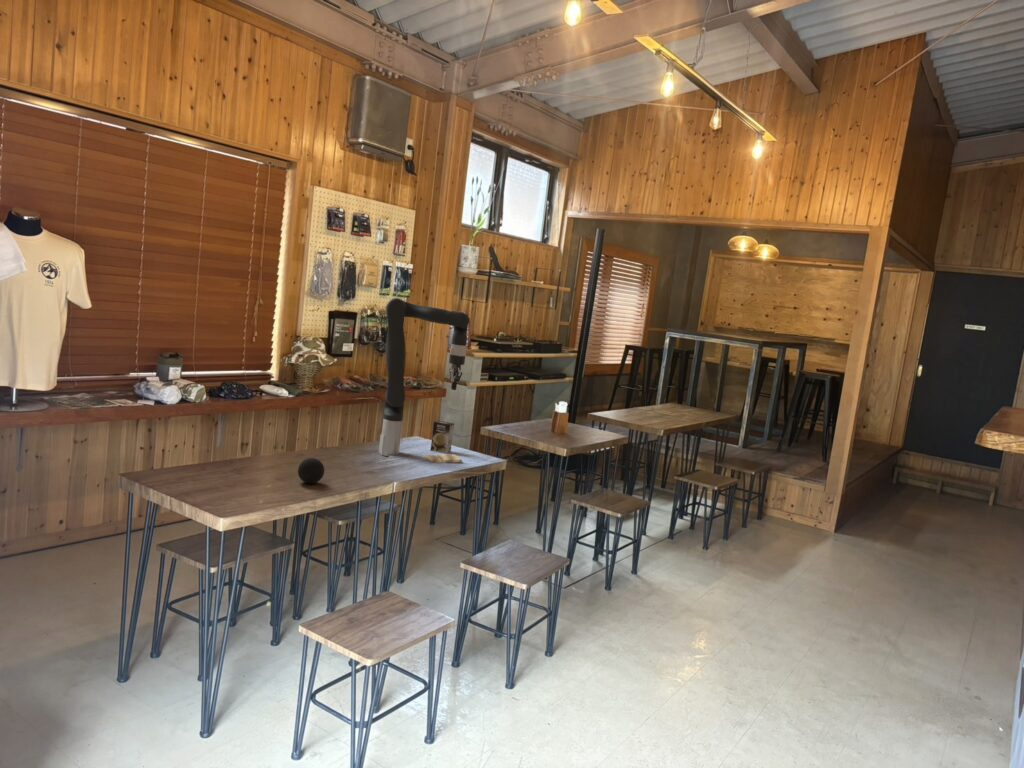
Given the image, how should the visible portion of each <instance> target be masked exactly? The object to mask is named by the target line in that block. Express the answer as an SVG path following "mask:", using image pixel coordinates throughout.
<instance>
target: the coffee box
mask: <svg viewBox="0 0 1024 768" xmlns="http://www.w3.org/2000/svg"><path fill="white" fill-rule="evenodd" d="M454 426H455V423H454V422H448V421H444V420H434V421H433V425H432V434H431V444H430V452H436V453H441V454H444V455H448V454H449V453H451V452H452V442H453V435H454V428H455V427H454Z"/></svg>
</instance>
